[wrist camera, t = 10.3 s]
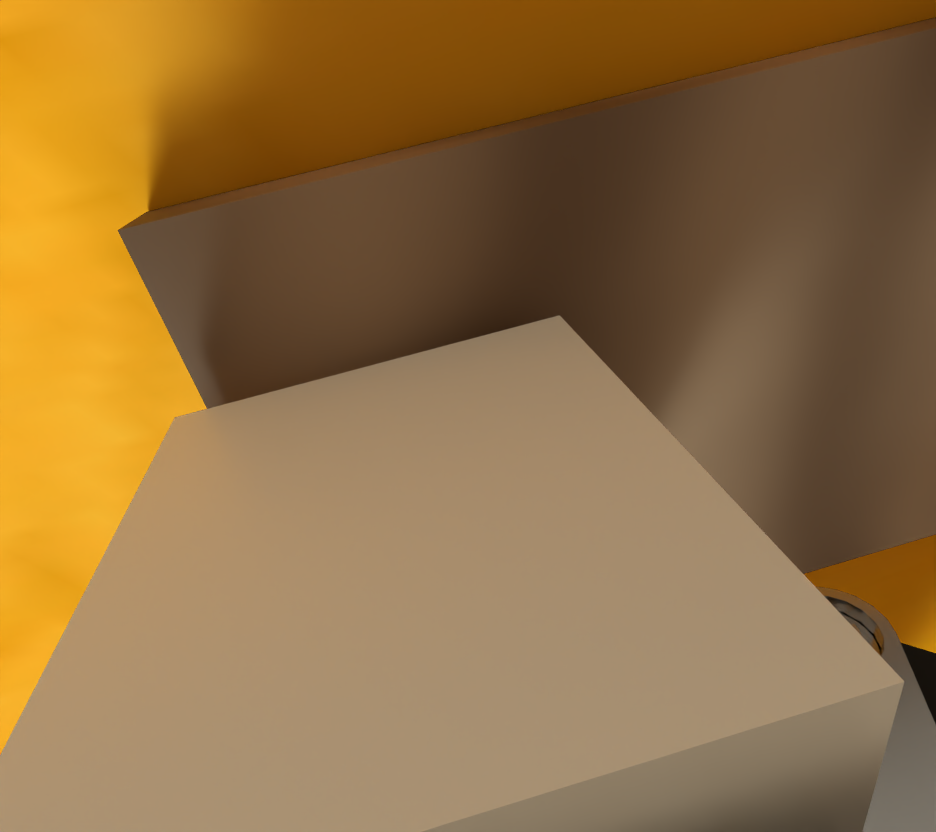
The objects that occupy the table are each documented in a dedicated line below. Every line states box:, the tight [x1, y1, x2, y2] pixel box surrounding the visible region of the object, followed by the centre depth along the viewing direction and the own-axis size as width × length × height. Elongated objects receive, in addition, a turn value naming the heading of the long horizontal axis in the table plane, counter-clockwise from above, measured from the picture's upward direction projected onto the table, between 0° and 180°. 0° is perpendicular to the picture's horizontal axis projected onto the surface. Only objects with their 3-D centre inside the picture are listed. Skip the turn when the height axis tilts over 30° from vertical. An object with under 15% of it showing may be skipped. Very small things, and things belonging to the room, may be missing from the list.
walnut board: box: [118, 18, 936, 574], centre depth 13 cm, size 26×12×2 cm, turn 102°
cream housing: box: [0, 315, 904, 832], centre depth 8 cm, size 6×6×7 cm
